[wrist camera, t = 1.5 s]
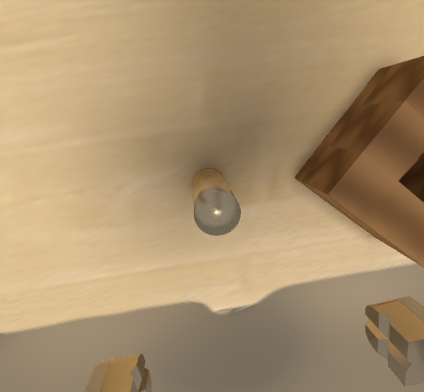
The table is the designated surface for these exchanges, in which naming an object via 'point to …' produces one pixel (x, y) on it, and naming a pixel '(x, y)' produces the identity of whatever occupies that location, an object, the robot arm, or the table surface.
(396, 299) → the robot arm
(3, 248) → the table surface
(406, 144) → the bore block
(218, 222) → the pin
